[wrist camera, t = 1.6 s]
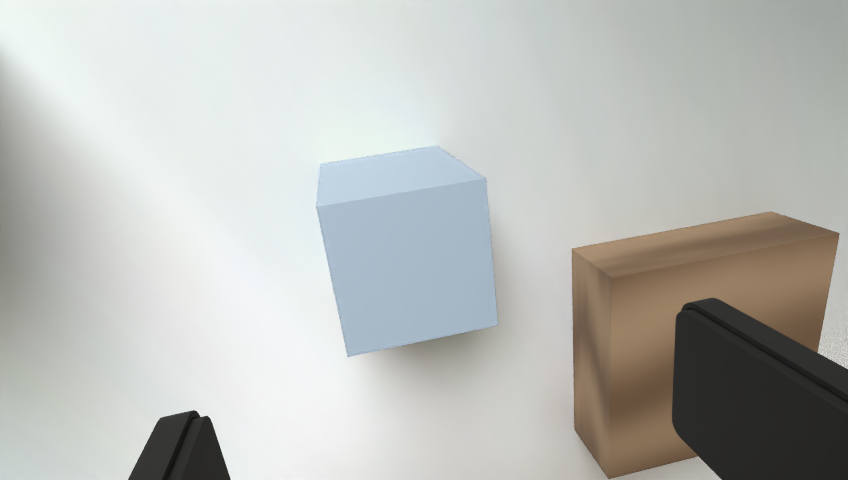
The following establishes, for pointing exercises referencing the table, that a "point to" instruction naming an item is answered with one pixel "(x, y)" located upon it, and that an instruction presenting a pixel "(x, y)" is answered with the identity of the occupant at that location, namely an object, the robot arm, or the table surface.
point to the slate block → (407, 247)
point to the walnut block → (656, 316)
